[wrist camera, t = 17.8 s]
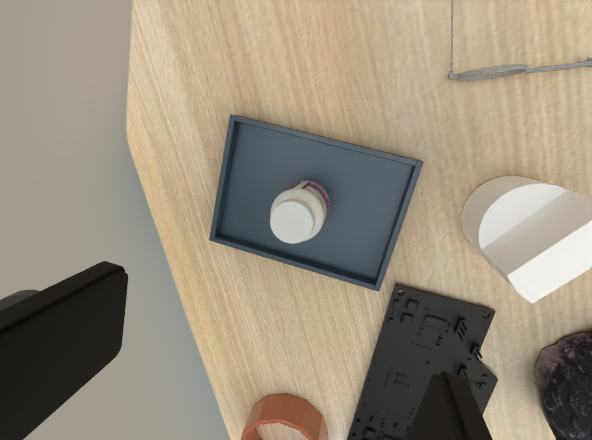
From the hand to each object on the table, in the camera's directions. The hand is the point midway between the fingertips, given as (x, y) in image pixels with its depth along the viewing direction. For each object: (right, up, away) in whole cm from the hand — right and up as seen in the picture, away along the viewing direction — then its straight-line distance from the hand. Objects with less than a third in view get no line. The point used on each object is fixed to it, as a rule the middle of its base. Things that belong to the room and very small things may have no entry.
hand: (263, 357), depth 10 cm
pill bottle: (+2, +6, +29) cm, 30 cm away
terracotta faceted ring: (0, -26, +38) cm, 46 cm away
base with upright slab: (+23, +4, +26) cm, 35 cm away
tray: (+2, +6, +30) cm, 31 cm away
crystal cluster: (+34, -14, +29) cm, 47 cm away
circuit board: (+17, -17, +33) cm, 41 cm away
